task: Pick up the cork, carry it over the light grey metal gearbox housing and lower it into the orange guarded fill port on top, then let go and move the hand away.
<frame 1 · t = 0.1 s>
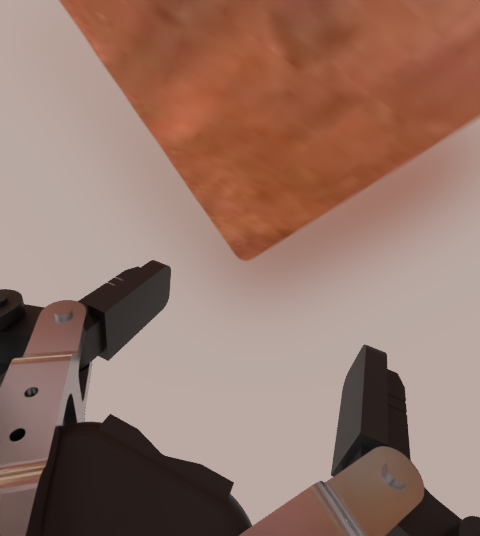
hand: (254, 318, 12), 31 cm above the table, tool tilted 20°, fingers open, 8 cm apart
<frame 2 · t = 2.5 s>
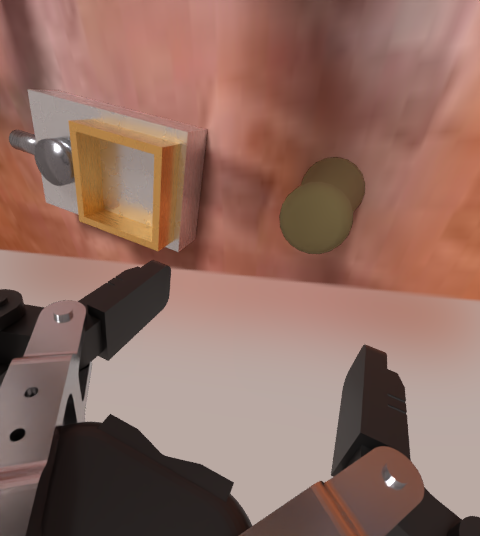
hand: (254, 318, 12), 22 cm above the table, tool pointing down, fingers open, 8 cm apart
gearbox: (128, 167, 38), on the table
cork: (332, 189, 30), on the table
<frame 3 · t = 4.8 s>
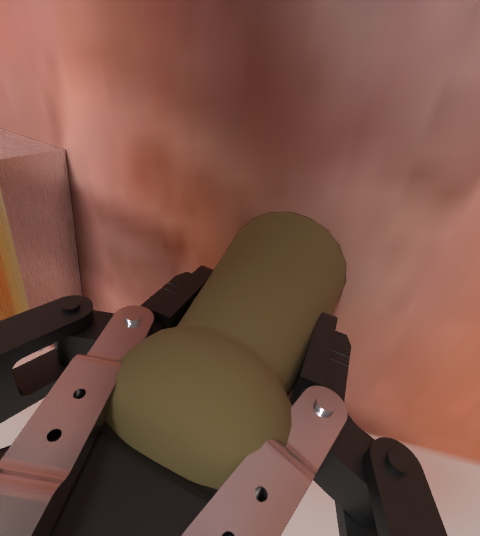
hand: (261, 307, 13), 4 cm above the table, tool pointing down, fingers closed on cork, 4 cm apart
cork: (285, 267, 16), on the table, touching gripper
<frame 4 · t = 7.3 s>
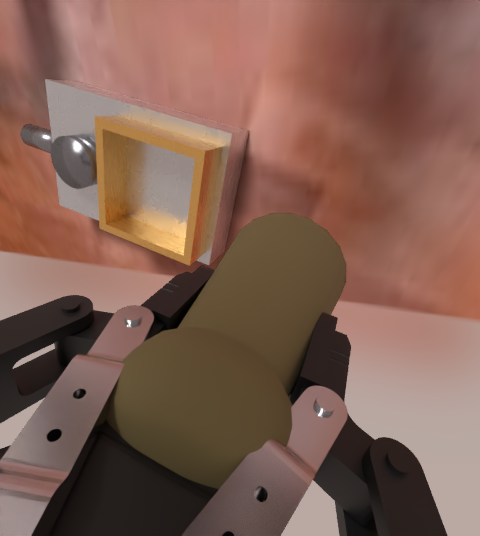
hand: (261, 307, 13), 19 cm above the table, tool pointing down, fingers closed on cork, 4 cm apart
gearbox: (154, 168, 34), on the table
cork: (285, 268, 16), point 15 cm above the table, touching gripper
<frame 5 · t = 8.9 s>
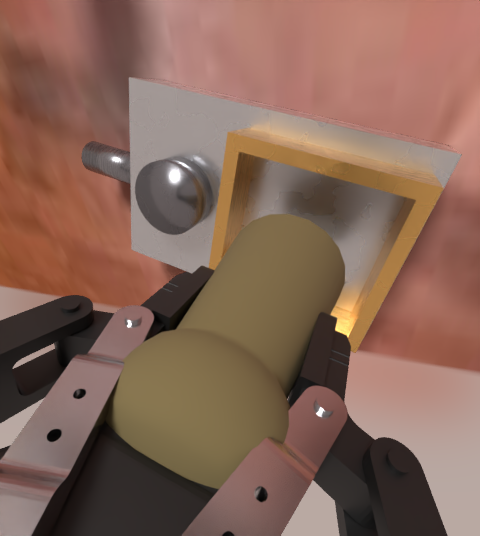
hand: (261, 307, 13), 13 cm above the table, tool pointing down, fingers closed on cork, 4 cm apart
gearbox: (269, 199, 24), on the table
cork: (284, 269, 16), point 9 cm above the table, touching gripper
when the fingers open (9 cm above the table, at t = 10.1 s): cork drops 1 cm, resting on gearbox.
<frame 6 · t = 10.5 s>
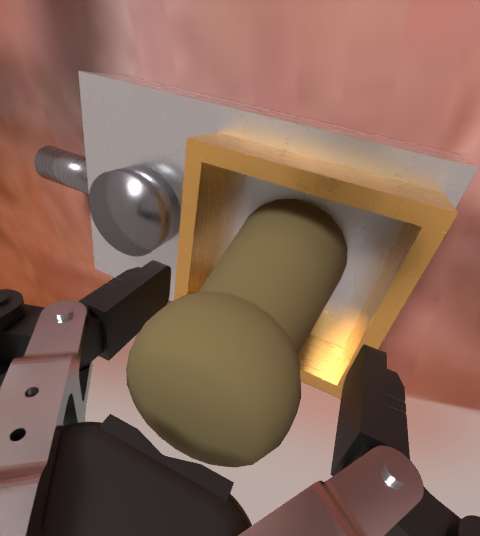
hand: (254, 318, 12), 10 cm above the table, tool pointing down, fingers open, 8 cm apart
gearbox: (249, 214, 21), on the table
cork: (290, 251, 17), point 4 cm above the table, touching gearbox
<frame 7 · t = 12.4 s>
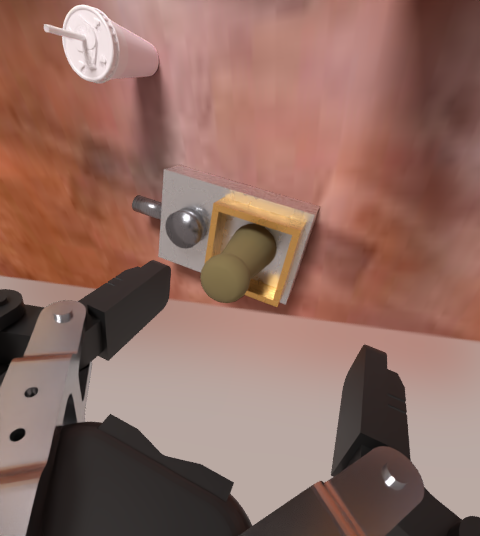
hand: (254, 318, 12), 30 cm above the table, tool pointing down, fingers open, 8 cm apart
smoothie: (147, 59, 39), on the table
gearbox: (237, 229, 44), on the table
cork: (254, 245, 40), point 4 cm above the table, touching gearbox
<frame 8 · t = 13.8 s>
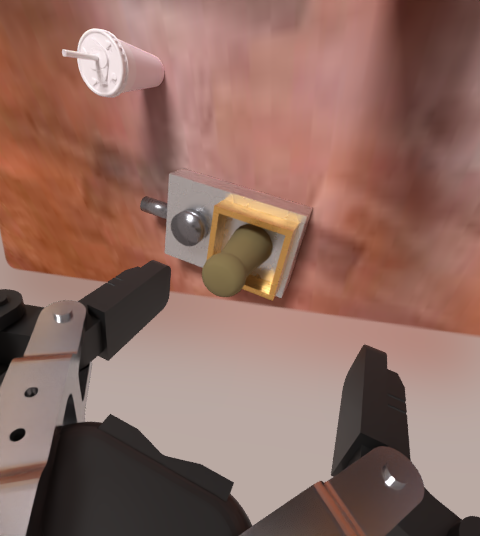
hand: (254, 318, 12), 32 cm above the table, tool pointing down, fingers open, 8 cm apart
smoothie: (153, 71, 42), on the table
gearbox: (237, 227, 48), on the table
cork: (252, 244, 43), point 4 cm above the table, touching gearbox
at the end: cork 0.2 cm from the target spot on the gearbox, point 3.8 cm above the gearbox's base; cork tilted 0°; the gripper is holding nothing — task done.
